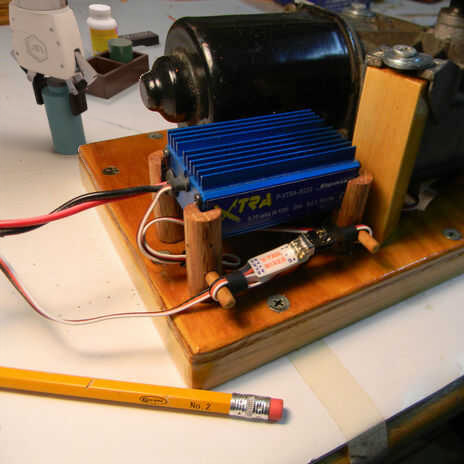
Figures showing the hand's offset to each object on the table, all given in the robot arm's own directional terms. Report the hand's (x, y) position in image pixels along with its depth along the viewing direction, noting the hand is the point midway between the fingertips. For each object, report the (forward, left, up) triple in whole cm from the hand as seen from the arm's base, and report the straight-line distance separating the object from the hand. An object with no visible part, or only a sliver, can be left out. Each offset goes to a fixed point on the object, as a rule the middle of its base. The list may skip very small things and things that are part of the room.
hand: (62, 106), depth 82 cm
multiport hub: (-20, +52, -8) cm, 56 cm away
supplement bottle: (-19, +37, -8) cm, 42 cm away
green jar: (-10, +31, -7) cm, 33 cm away
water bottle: (0, 0, -8) cm, 8 cm away
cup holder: (-10, +27, -8) cm, 30 cm away
